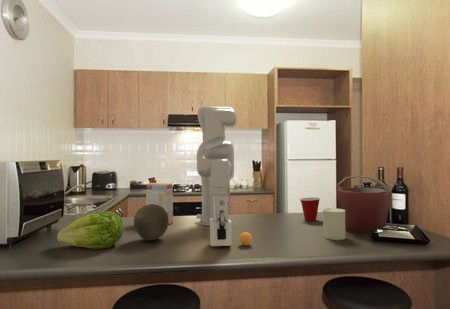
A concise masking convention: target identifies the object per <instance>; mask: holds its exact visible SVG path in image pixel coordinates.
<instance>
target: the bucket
mask: <svg viewBox="0 0 450 309" xmlns="http://www.w3.org/2000/svg"><path fill="white" fill-rule="evenodd" d="M354 178H364V179H369V180H370V181H373V182H375V183H377V184H378V185H380V187H382V188H377V187H361V186H360V187H359V186H358V187H341V186H340V185H343V184H346V182H348V181H349V179H354ZM336 187H337V190H336V192H337V193H336V194H337V196H336V198H337V201H338V202H337V203H338V206H339V209H343V210H345V231H348V232H352V233H354V234H361V235H363V234H364V235H371V234H370V232H371V231H372V230H377V229H380V228H383V227H385V228H386V224H387V219H388V216H389V211H390V206H391V205H390V204H391V201H392V191H391V189H390V188H389V187H388V185H387V184H386V183H384V182H382V181H381V179H378V178H376V177H374V176H373V177H372V176H369V175H353V176H346V177H344V178H343V179H342V180H341V181H339V182H338V183H337V186H336Z"/></svg>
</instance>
